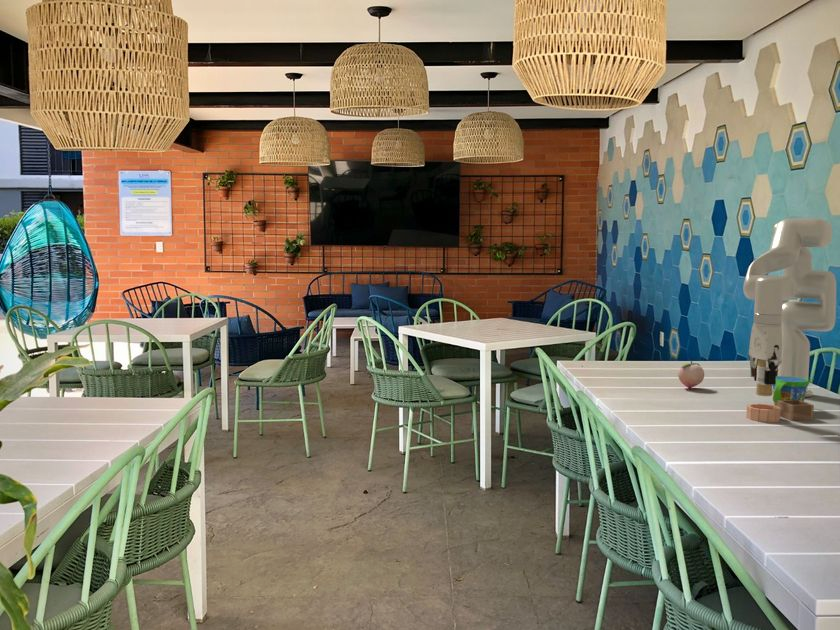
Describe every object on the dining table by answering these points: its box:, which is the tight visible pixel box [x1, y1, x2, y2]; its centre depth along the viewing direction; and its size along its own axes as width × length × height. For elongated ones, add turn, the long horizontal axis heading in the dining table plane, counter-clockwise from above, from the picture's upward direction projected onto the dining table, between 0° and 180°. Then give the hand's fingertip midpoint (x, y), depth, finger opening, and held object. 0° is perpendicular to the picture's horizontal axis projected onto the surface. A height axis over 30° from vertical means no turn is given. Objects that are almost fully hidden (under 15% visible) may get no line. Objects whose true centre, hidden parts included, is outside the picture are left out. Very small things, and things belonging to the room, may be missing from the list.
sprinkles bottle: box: [755, 358, 773, 397], centre depth 237 cm, size 5×5×14 cm
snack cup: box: [772, 376, 810, 406], centre depth 251 cm, size 16×10×10 cm
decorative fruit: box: [677, 360, 705, 389], centre depth 287 cm, size 9×8×10 cm
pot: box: [745, 403, 781, 423], centre depth 239 cm, size 9×9×4 cm
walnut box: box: [777, 400, 815, 422], centre depth 240 cm, size 7×7×5 cm
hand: (764, 381), depth 238 cm, fingers closed on sprinkles bottle, 4 cm apart
